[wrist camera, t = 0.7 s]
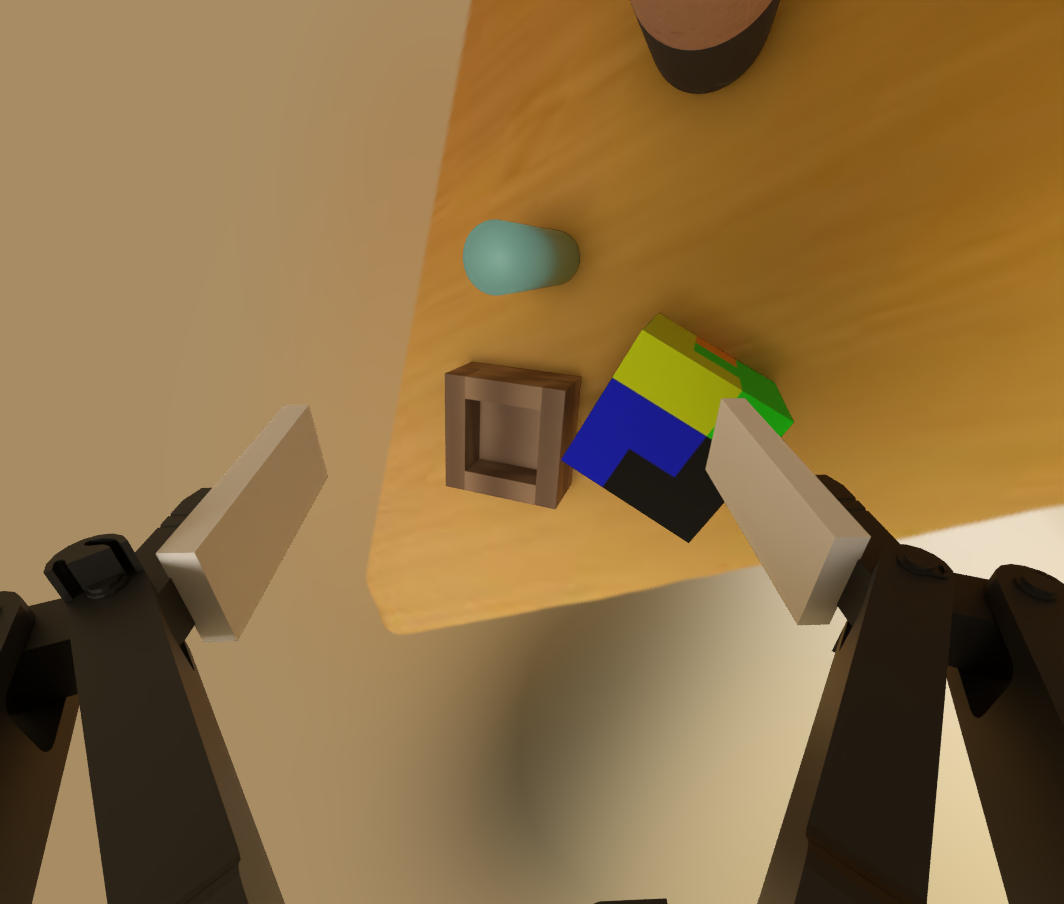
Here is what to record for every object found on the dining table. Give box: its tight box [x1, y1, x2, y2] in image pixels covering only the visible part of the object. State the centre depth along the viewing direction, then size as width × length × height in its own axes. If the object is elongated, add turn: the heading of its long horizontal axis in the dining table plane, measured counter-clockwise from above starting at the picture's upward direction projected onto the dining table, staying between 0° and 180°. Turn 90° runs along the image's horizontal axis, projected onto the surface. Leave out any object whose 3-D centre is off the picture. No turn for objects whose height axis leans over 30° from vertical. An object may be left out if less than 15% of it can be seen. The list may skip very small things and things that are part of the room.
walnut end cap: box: [445, 362, 581, 509], centre depth 42 cm, size 10×10×5 cm
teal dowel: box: [463, 220, 580, 295], centre depth 33 cm, size 4×4×12 cm
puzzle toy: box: [561, 313, 794, 543], centre depth 35 cm, size 10×10×10 cm
